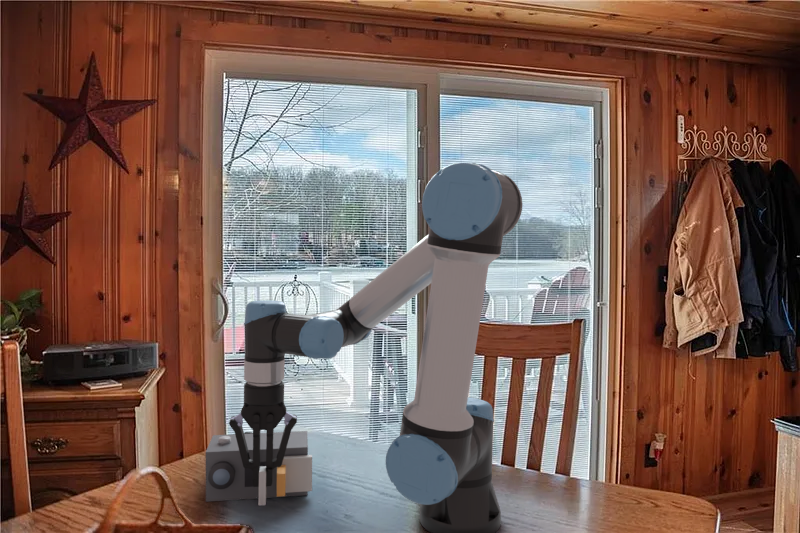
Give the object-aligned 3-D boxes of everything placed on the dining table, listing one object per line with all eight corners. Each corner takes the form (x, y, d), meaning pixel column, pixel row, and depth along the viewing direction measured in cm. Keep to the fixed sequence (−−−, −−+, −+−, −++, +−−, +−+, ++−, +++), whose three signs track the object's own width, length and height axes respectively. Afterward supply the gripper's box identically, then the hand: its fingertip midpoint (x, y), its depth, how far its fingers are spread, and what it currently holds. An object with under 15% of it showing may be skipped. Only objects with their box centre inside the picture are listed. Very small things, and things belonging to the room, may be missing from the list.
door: (312, 500, 112) (312, 465, 112) (275, 503, 111) (275, 467, 111) (311, 488, 118) (311, 454, 118) (276, 490, 117) (276, 456, 116)
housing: (307, 498, 117) (307, 445, 116) (204, 505, 113) (204, 450, 113) (307, 475, 128) (307, 426, 128) (213, 480, 125) (213, 430, 124)
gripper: (298, 376, 116) (296, 492, 117) (231, 377, 113) (230, 495, 114) (298, 385, 108) (296, 509, 109) (227, 386, 106) (225, 513, 107)
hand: (262, 502), depth 112 cm, fingers closed
